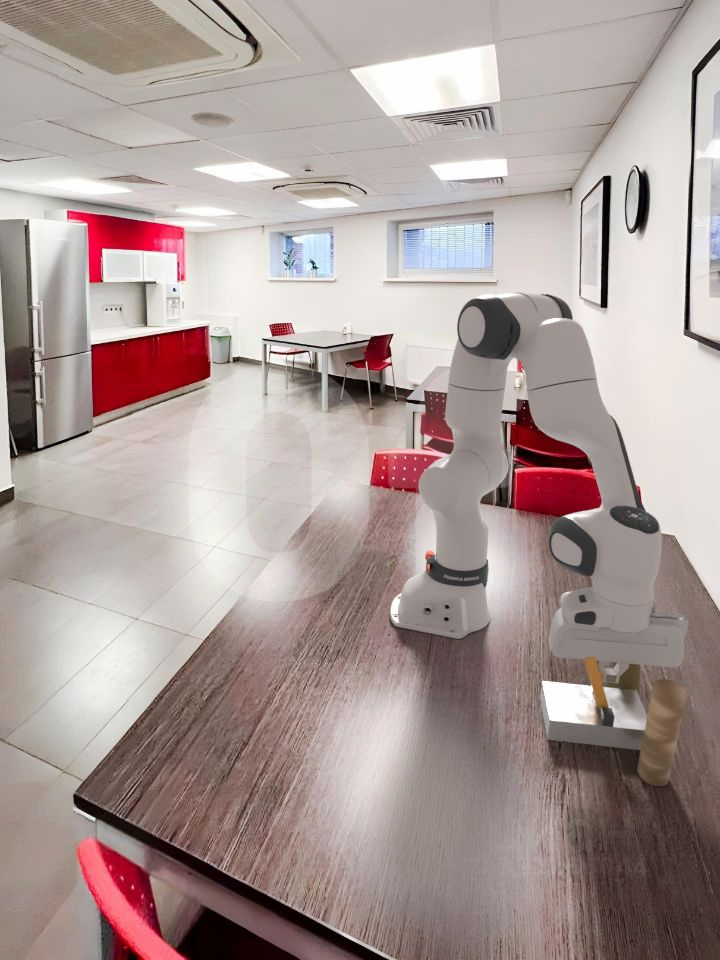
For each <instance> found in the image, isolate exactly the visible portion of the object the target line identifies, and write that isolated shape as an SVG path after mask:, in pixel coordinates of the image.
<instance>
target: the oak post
mask: <svg viewBox="0 0 720 960" xmlns="http://www.w3.org/2000/svg"><path fill="white" fill-rule="evenodd" d="M687 696H688V692H687V689H686V688H685V687H684V686H683V685H681V683H678V682H677V681H673V680H670V679H666V678H661V679H656V680H654V681H653V683H652V689H651V694H650V697H649V698H650V699H649V704H648V709H647V713H646V714H647V720H646V725H645V731H644V736H643V741H642V747H641V750H640V753H639V757H638V763H637V767H636V768H637V769H636V773H637V772H638V773H637V775H638V774H639V775H638V777H639V776H640V777H641V778H642V779H643V780H644V781H645V782H644V781H643V780H642V779H641V778H640V777H639V778H640V779H641V780H642V781H643V782H644V783H645V784H647V783H648V784H647V785H649V784H650V786H652V785H654V786H653V787H656V786H663V787H665V785H666V786H667V785H668V784H669V782H670V777H671V773H672V768H673V762H674V757H675V753H676V749H677V743H678V740H679V739H678V738H679V735H680V729H681V724H682V720H683V716H684V710H685V707H686V706H685V705H686V700H687V698H688V697H687Z"/></svg>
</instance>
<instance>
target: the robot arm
mask: <svg viewBox="0 0 720 960" xmlns="http://www.w3.org/2000/svg"><path fill="white" fill-rule="evenodd" d="M460 310H461V311H460V312H459V315H458V319H457V325H456V327H457V328H456V331H457V337H458V339H457V342H456V344H455V348H454V351H453V355H452V359H451V364H450V368H449V375H448V384H447V391H446V392H447V395H446V401H445V403H446V404H445V411H444V413H445V415H444V420H445V423H446V425H447V427H448V428H450V429H451V430H450V431H451V432H452V439H453V447H452V451H451V453H449V454H448V455H445V456H442V457H441V458H437V460H435V461H434V462H432V463H431V464H430V465H429V466H428V467H427V468H426V469H425V470H424V471H423V472H422V473H421V475H420V477H419V480H418V493H419V495H420V498H421V500H422V501H423V503H424V504H425V505H426V506H427V507H428V508H429V509H430V510H431V511H432V514H433V517H434V521H435V531H436V532H435V534H436V539H435V540H436V541H435V553H434V552H433V551H432V550H428V551H426V552H425V558H424V559H425V561H426V565H425V569H424V570H423V571H421V572H419V573H417V574H415V575H414V576H411V577H410V578H408V579H407V580H406V582H405V584H404V586H403V587H402V591H401V592H400V593H399V594H397V595H396V596H395V597H394V598H393V600H392V602H391V605H390V611H389V612H390V613H389V617H390V621H391V622H392V624H393V626H395V627H398V628H401V629H406V630H412V631H416V632H422V633H428V634H431V635H436V636H442V637H446V638H452V639H459V640H461V639H463V638H465V637H466V636H468V635H469V634H471V633H473V632H477V631H480V630H482V629H484V628H485V627H487V626H488V624H489V623H490V620H491V615H490V611H489V607H488V601H487V600H488V599H487V585H488V581H489V580H488V579H489V569H490V567H489V560H488V544H489V526H488V525H487V524H486V522H485V521H484V520H483V519H482V515H481V511H480V504H481V500H482V498H483V497H484V496H485V495H487V494H489V493H490V492H492V491H494V490H496V488H498V487H499V486H500V485H501V483H502V482H503V481H504V479H505V478H506V476H507V474H508V473H509V460H508V456H507V454H506V452H505V451H504V450H503V446H502V445H503V444H502V443H503V442H502V435H501V421H502V412H503V405H504V398H505V389H506V383H507V372H508V368H509V364H510V363H511V361H512V360H513V359H515V360H517V361H518V362H519V363H521V365H522V367H523V370H524V375H525V376H524V377H525V384H526V391H527V399H528V400H527V401H528V406H529V412H530V415H531V418H532V420H533V422H534V424H535V426H536V427H537V428H538V429H539V430H540V431H541V432H543V434H545V435H546V436H547V437H550V438H552V439H554V440H556V441H558V442H559V441H560V442H563V443H566V444H569V445H572V446H574V447H576V448H578V449H580V450H581V451H582V452H584V453H585V454H586V455H587V458H588V459H589V460H590V462H591V466H592V469H593V473H594V475H595V476H594V477H595V480H596V483H597V487H598V491H599V494H600V498H601V499H600V500H601V504H600V506H599V507H598V508H593V509H588V510H582V511H577V512H572V513H569V514H565V515H563V516H560V517H557V518H556V519H555V520H554V521H553V523H552V525H551V526H550V528H549V532H548V537H547V538H548V539H547V540H548V541H547V542H548V543H547V544H548V548H549V552H550V554H551V556H552V558H553V560H554V561H556V563H557V564H558V565H559V566H560V567H562V568H564V569H565V570H567V571H569V572H571V573H575V574H577V575H581V576H584V577H590V578H592V580H593V581H592V582H593V583H592V586H588V587H585V588H581V589H577V590H571V591H567V592H563V593H561V596H560V607H559V608H558V610H556V611H555V613H554V615H553V618H552V619H551V625H550V628H549V633H548V647H549V651H550V652H551V654H552V655H553V656H554V658H555V657H556V658H559V659H560V658H561V659H574V660H585V659H584V658H590V657H595V660H596V663H597V667H598V669H599V670H600V671H599V674H600V678H601V681H602V682H603V683H606V682H607V683H619V677H620V676H621V675H622V674H623V673H624V672H625V671H626V670H627V669H628V668H629V664H640V666H641V665H642V666H653V667H654V666H655V667H664V668H677V667H679V666H680V665H681V664H682V663H683V661H684V654H685V652H684V651H685V641H684V640H685V636H686V635H687V633H688V628H689V619H688V617H686V616H685V615H683V614H681V613H680V612H679V611H675V610H673V611H672V610H671V611H666V610H661V609H652V608H653V603H654V599H655V592H654V582H655V580H656V578H657V577H658V575H659V574H658V573H659V569H660V566H661V565H660V563H661V556H662V546H663V535H662V528H661V525H660V523H659V521H658V520H657V518H656V517H655V516H653V515H652V514H651V513H649V512H647V510H646V508H645V507H644V504H643V503H642V500H641V498H640V494H639V492H638V488H637V487H638V486H637V484H636V480H635V477H634V472H633V470H632V466H631V463H630V462H631V461H630V457H629V455H628V451H627V447H626V445H625V442H624V437H623V435H622V432H621V429H620V427H619V425H618V422H617V421H616V420H615V418H614V417H613V416H612V415H611V414H610V413H609V412H608V410H607V408H606V406H605V404H604V402H603V399H602V397H601V393H600V389H599V385H598V384H599V383H598V380H597V372H596V367H595V363H594V358H593V355H592V351H591V348H590V345H589V341H588V338H587V336H586V333H585V331H584V328H583V326H582V325H581V324H580V323H579V322H577V321H576V320H574V319H573V317H574V316H573V312H572V310H571V307H570V306H569V304H568V303H567V302H566V301H564V300H563V299H562V298H560V297H558V296H555V295H553V294H548V293H541V294H538V293H531V292H519V291H518V292H513V293H504V294H503V293H502V294H496V295H494V294H483V295H480V296H477V297H473V298H472V299H470V300H469V301H467V302H466V303H464V305H463V306H462V309H460ZM613 662H617V664H616V665H615V667H614V668H613V669H612V668H611V667H610V668H609V667H607V666H608V663H613Z"/></svg>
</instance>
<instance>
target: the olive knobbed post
mask: <svg viewBox="0 0 720 960" xmlns="http://www.w3.org/2000/svg"><path fill="white" fill-rule="evenodd" d="M611 663H612V665H611V667H610V668H612V669H613V668H614V667H615V665H616V664H617V662H611ZM640 674H641V665H640V664H629V668H628V669H627V670H626V671H625V672H624V673H623V674H622V675H621V676H620V677H619V683H607V682H605V683H604V687H609V688H619V689H629V690H637V692H638V695H639V697H640V693H641V692H640V691H641V690H640V683H641V680H640V678H641V675H640ZM640 698H641V697H640Z"/></svg>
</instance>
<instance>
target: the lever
mask: <svg viewBox="0 0 720 960" xmlns="http://www.w3.org/2000/svg"><path fill="white" fill-rule="evenodd" d="M584 659H585V660H584V664H585V668H586V670H587V671H586V672H587V674H588V678H589V682H591V685H592V689H593V692H594V696H595V699H596V702H597V705H598V708H599V709H600V711H601V707H604V708H609V706H608V703H607V699H606V696H605V692H604V689H603V687H604V684H603V685H602V681H601V678H600V671H599V666H598V664H597V661H596V660H595V657H590V658H584Z"/></svg>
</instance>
